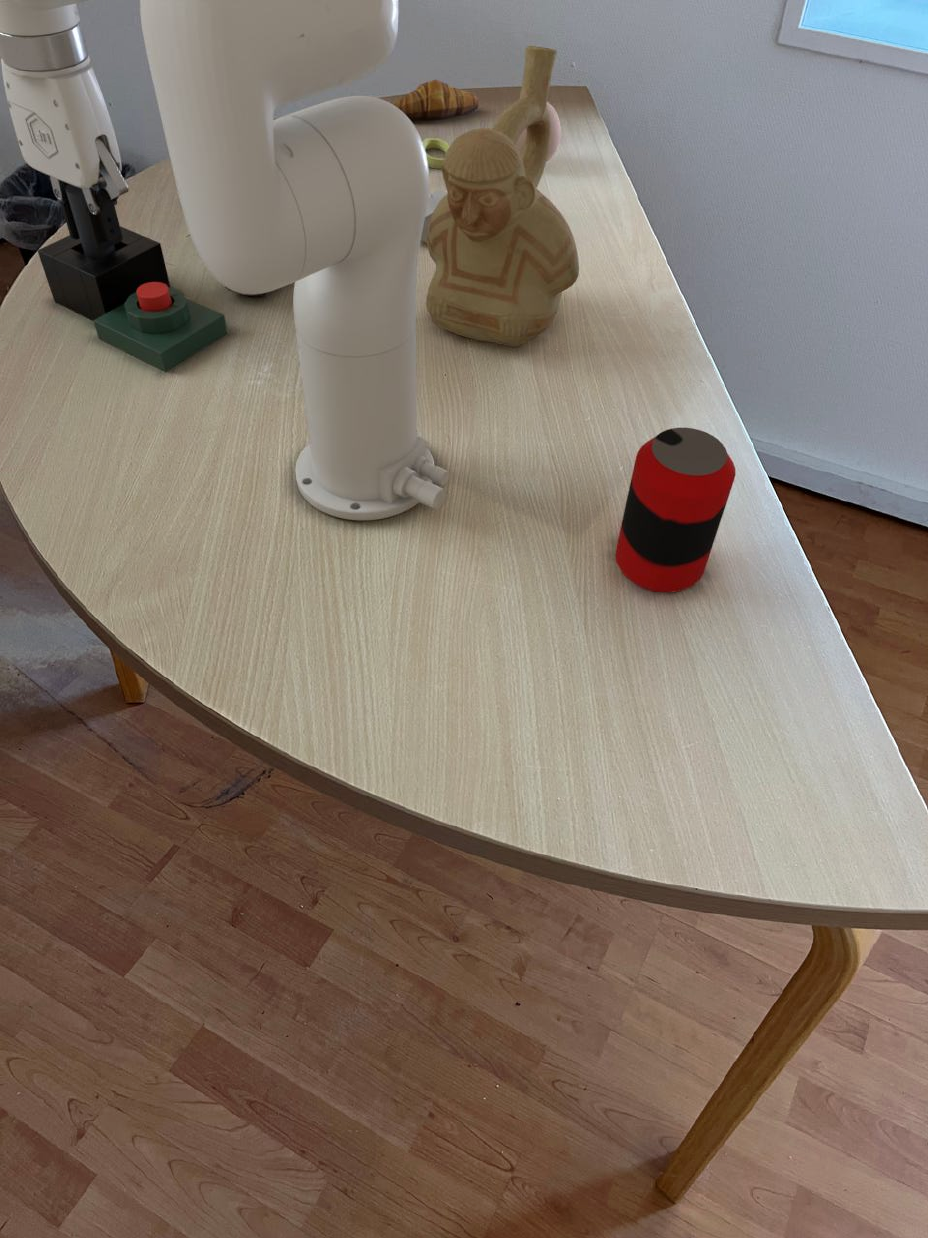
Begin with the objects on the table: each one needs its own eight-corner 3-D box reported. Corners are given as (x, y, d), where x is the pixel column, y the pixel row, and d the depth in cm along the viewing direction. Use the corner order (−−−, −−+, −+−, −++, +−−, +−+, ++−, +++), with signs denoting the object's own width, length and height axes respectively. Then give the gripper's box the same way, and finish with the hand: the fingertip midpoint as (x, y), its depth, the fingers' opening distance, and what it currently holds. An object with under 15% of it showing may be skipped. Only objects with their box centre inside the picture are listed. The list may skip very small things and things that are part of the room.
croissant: (469, 102, 143) (470, 66, 139) (485, 119, 139) (486, 82, 135) (385, 111, 140) (384, 75, 136) (399, 129, 136) (398, 92, 132)
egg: (554, 152, 132) (560, 88, 126) (561, 174, 127) (568, 109, 121) (504, 152, 131) (507, 88, 125) (509, 174, 127) (513, 109, 121)
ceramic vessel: (390, 340, 99) (381, 87, 81) (466, 259, 111) (474, 22, 92) (536, 383, 95) (563, 126, 76) (600, 294, 107) (637, 52, 88)
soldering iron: (131, 285, 103) (104, 185, 94) (108, 297, 101) (79, 197, 93) (111, 276, 104) (83, 177, 96) (88, 288, 102) (58, 188, 94)
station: (227, 333, 100) (221, 299, 96) (165, 371, 95) (156, 337, 92) (162, 302, 103) (154, 269, 100) (98, 338, 98) (88, 304, 95)
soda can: (654, 519, 82) (682, 407, 73) (722, 566, 79) (760, 455, 69) (596, 558, 79) (618, 446, 70) (664, 609, 75) (696, 498, 66)
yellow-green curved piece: (362, 156, 129) (361, 140, 128) (444, 145, 133) (444, 129, 131) (379, 178, 125) (379, 162, 123) (463, 166, 128) (464, 150, 127)
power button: (178, 303, 96) (175, 287, 95) (155, 316, 95) (151, 301, 93) (156, 293, 98) (153, 278, 96) (133, 306, 96) (129, 290, 94)
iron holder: (172, 293, 104) (160, 242, 100) (110, 328, 99) (94, 276, 95) (117, 269, 108) (103, 218, 103) (54, 301, 103) (37, 250, 98)
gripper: (-50, 36, 85) (17, 230, 99) (70, 78, 79) (123, 278, 93) (18, 15, 89) (73, 204, 103) (137, 54, 84) (178, 249, 98)
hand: (96, 237), depth 98 cm, fingers closed on soldering iron, 3 cm apart
